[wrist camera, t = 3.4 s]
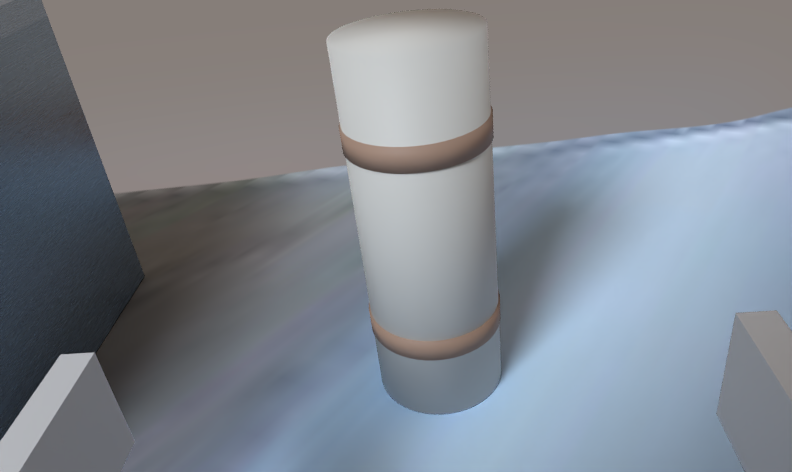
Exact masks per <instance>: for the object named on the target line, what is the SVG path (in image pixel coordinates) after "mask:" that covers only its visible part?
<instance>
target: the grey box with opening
mask: <svg viewBox="0 0 792 472" xmlns="http://www.w3.org/2000/svg"><path fill="white" fill-rule="evenodd" d="M143 278H144V273H143V271H142V268H141V265H140V263H139V260H138V257H137V255H136V252H135V249H134V247H133V244H132V241H131V239H130V236H129V233H128V231H127V228H126V225H125V223H124V220H123V217H122V215H121V212H120V209H119V206H118V204H117V201H116V198H115V196H114V193H113V190H112V188H111V185H110V183H109V180H108V177H107V174H106V172H105V169H104V166H103V164H102V161H101V159H100V156H99V153H98V150H97V148H96V145H95V142H94V140H93V137H92V134H91V132H90V129H89V126H88V124H87V121H86V118H85V116H84V113H83V110H82V108H81V105H80V102H79V99H78V97H77V94H76V91H75V89H74V86H73V83H72V81H71V78H70V76H69V73H68V70H67V67H66V65H65V62H64V59H63V57H62V54H61V51H60V49H59V46H58V43H57V41H56V38H55V35H54V33H53V30H52V27H51V25H50V22H49V19H48V17H47V14H46V11H45V9H44V6H43V4H42V1H41V0H0V441H1V439H2V438H3V437H4V435H5V434H6V432H7V431H8V429H9V428H10V426H11V425H12V424H13V422H14V421H15V419H16V418H17V416H18V415H19V414H20V412H21V411H22V409H23V408H24V406H25V405H26V403H27V402H28V401H29V399H30V398H31V396H32V395H33V393H34V392H35V391H36V389H37V388H38V386H39V385H40V383H41V382H42V380H43V379H44V378H45V376H46V375H47V373H48V372H49V370H50V369H51V367H52V366H53V365H54V363H55V362H56V360H57V359H58V357H59V356H60V355H61V354H77V353H93V352H95V353H96V352H97V350H98V348H99V347H100V345H101V344H102V342H103V341H104V339H105V337H106V336H107V334H108V333H109V331H110V330H111V328H112V326H113V325H114V323H115V322H116V320H117V319H118V317H119V315H120V314H121V312H122V311H123V309H124V308H125V306H126V304H127V303H128V301H129V300H130V298H131V297H132V295H133V293H134V292H135V290H136V289H137V287H138V286H139V284H140V282H141V281H142V279H143Z"/></svg>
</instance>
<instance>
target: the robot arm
mask: <svg viewBox="0 0 792 472" xmlns="http://www.w3.org/2000/svg"><path fill="white" fill-rule="evenodd" d="M716 414H717V416H718V418H719V420H720V422H721V424H722V426H723V428H724V430H725V432H726V434H727V436H728V438H729V441H730V443H731V445H732V447H733V449H734V451H735V453H736V455H737V457H738V459H739V461H740V463H741V465H742V467H743V469H744V471H745V472H792V331H791V330H790V328H789V327H788V325H787V324H786V323H785V321H784V320H783V319H782V317H781V316H780V314H779V313H778V312H777V311H761V312H745V313H736V314H735V319H734V324H733V329H732V335H731V340H730V345H729V350H728V356H727V361H726V366H725V371H724V376H723V382H722V387H721V392H720V397H719V403H718V408H717V413H716ZM134 443H135V440H134V438H133V436H132V434H131V432H130V429H129V427H128V425H127V423H126V421H125V418H124V416H123V414H122V412H121V410H120V407H119V405H118V403H117V401H116V399H115V396H114V394H113V392H112V390H111V388H110V385H109V383H108V381H107V379H106V377H105V374H104V372H103V370H102V368H101V366H100V363H99V361H98V359H97V357H96V354H95V352H93V353H77V354H61V355H60V356H59V357H58V359H57V360H56V362H55V363H54V365H53V366H52V367H51V369H50V370H49V372H48V373H47V375H46V376H45V378H44V379H43V380H42V382H41V383H40V385H39V386H38V388H37V389H36V391H35V392H34V393H33V395H32V396H31V398H30V399H29V401H28V402H27V403H26V405H25V406H24V408H23V409H22V411H21V412H20V414H19V415H18V416H17V418H16V419H15V421H14V422H13V424H12V425H11V426H10V428H9V429H8V431H7V432H6V434H5V435H4V437H3V438H2V439H1V441H0V472H121V470H122V468H123V466H124V464H125V462H126V460H127V458H128V456H129V454H130V452H131V449H132V447H133V445H134Z"/></svg>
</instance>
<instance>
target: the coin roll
mask: <svg viewBox="0 0 792 472" xmlns="http://www.w3.org/2000/svg"><path fill="white" fill-rule="evenodd" d="M326 42H327V48H328V54H329V60H330V66H331V72H332V78H333V85H334V91H335V97H336V103H337V108H338V115H339V121H340V122H339V131H340V136H341V142H342V149H343V154H344V156H345V158H346V163H347V170H348V176H349V182H350V188H351V194H352V200H353V206H354V212H355V218H356V224H357V230H358V236H359V242H360V248H361V254H362V261H363V267H364V273H365V279H366V285H367V291H368V297H369V312H370V318H371V324H372V329H373V332H374V335H375V339H376V345H377V352H378V358H379V364H380V370H381V376H382V381H383V385H384V387H385V390H386V391H387V393H388V394H389V395H390V397H391V398H392V399H393V400H395V401H396V402H397V403H399V404H400V405H402V406H403V407H406V408H408V409H410V410H413V411H416V412H420V413H425V414H451V413H456V412H460V411H463V410H467V409H469V408H471V407H474V406H476V405H477V404H479V403H481V402H482V401H484V400H485V399H486V398H487V397H488V396H489V395H490V394H491V393H492V392H493V391H494V390H495V388H496V387H497V385H498V383H499V380H500V377H501V352H500V327H499V324H500V294H499V291H498V277H497V252H496V227H495V202H494V177H493V151H492V141H493V137H494V136H493V109H492V106H491V102H490V79H489V78H490V76H489V51H488V27H487V20H486V19H485V18H484V17H483V16H481V15H479V14H476V13H473V12H468V11H462V10H452V9H425V10H411V11H402V12H394V13H388V14H383V15H378V16H373V17H369V18H365V19H361V20H358V21H355V22H352V23H349V24H347V25H344V26H342V27H340V28H338V29H336V30H335V31H333V32H332V33H331V34H330V35H329V36H328V37H327V40H326Z"/></svg>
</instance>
